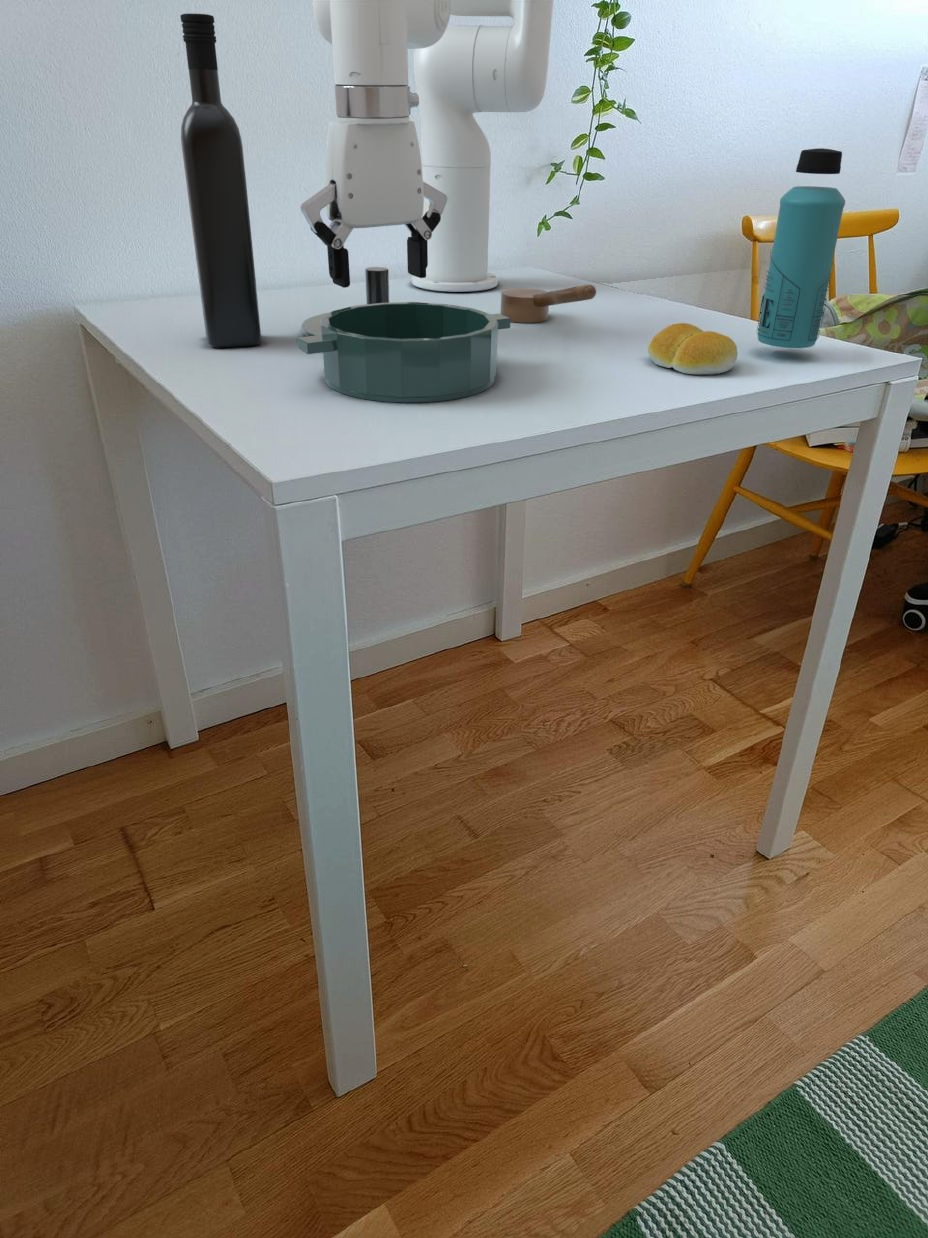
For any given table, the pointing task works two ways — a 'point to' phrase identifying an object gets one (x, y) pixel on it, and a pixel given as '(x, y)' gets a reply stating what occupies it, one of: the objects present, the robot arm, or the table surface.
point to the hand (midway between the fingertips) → (379, 280)
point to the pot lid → (374, 294)
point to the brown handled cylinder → (539, 302)
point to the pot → (408, 351)
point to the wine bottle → (217, 198)
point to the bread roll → (692, 350)
